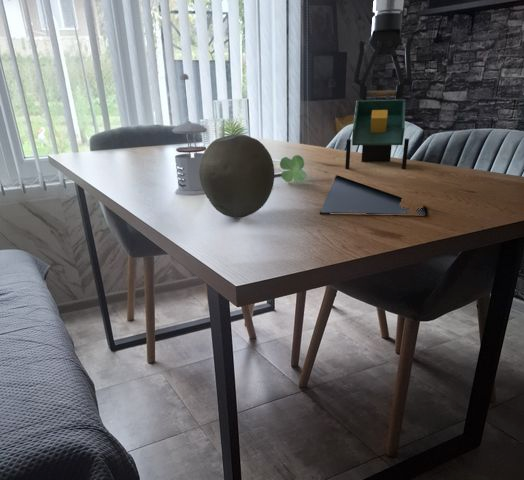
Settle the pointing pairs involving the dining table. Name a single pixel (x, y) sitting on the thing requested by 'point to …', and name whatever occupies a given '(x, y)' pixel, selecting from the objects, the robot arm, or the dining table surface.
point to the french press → (189, 157)
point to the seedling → (293, 169)
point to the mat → (361, 199)
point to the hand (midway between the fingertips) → (379, 111)
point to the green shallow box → (394, 120)
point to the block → (379, 121)
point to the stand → (376, 153)
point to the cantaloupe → (237, 175)
